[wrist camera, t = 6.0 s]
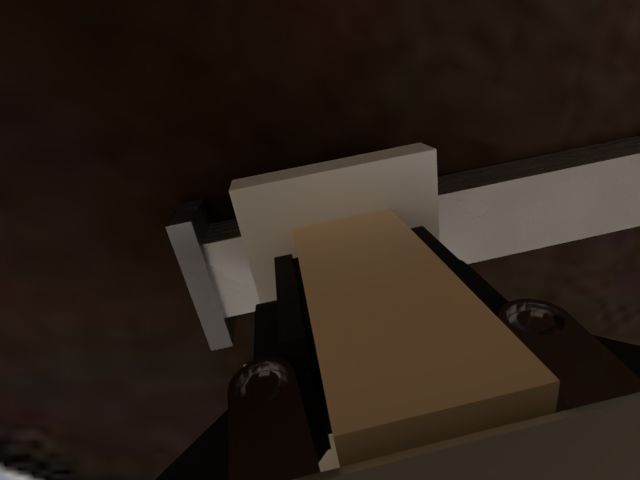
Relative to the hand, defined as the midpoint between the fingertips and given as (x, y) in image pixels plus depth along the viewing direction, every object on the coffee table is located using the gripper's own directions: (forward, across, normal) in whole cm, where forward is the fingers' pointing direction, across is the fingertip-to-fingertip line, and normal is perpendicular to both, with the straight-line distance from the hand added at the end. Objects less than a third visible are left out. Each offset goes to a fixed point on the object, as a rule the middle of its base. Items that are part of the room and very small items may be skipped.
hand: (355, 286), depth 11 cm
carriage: (+4, 0, 0) cm, 4 cm away
